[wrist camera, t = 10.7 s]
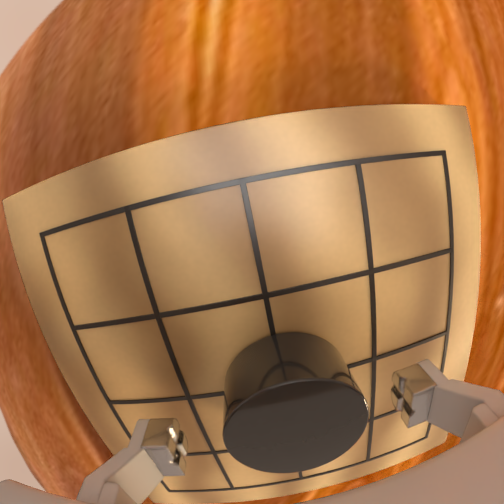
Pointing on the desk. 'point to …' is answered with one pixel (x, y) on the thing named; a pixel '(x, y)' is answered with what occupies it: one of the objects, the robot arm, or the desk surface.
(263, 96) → the desk surface
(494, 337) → the desk surface
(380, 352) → the go board
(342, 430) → the game stone
